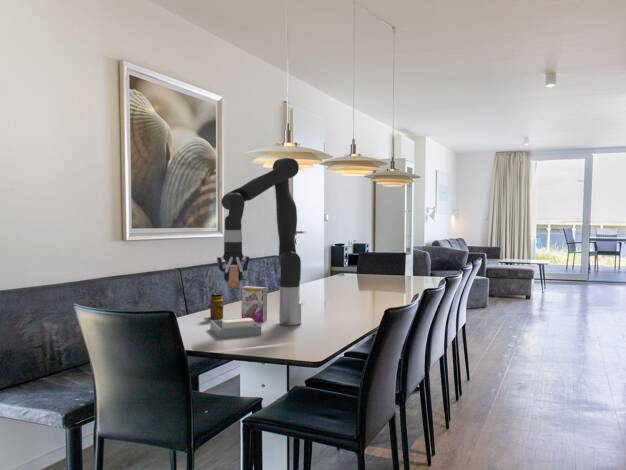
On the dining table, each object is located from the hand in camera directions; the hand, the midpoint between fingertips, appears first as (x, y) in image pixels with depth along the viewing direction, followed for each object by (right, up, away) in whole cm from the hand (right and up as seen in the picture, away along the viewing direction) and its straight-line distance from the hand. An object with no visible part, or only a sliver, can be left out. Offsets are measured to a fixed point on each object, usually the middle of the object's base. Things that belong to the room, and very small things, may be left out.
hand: (233, 280), depth 215 cm
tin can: (0, -3, 0) cm, 3 cm away
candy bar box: (+6, -21, +21) cm, 31 cm away
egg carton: (+3, -21, -6) cm, 22 cm away
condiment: (-13, -21, +29) cm, 38 cm away
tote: (+1, -22, -2) cm, 22 cm away
